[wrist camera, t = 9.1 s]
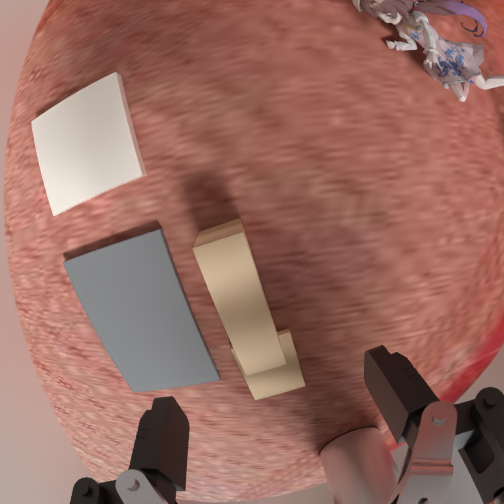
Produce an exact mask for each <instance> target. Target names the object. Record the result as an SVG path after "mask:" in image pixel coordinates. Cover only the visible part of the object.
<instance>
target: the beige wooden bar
mask: <svg viewBox="0 0 504 504" xmlns="http://www.w3.org/2000/svg"><path fill="white" fill-rule="evenodd" d="M192 249H193V252H194V254H195V257H196V259H197V262H198V265H199V267H200V270H201V272H202V275H203V277H204V280H205V282H206V285H207V287H208V290H209V292H210V294H211V297H212V299H213V302H214V304H215V307H216V309H217V311H218V314H219V316H220V318H221V321H222V323H223V325H224V328H225V330H226V332H227V335H228V337H229V339H230V341H231V344H232V345H231V351H232V353H233V355H234V357H235V359H236V361H237V364H238V366H239V368H240V370H241V372H242V374H243V376H244V378H245V380H246V383H247V385H248V387H249V389H250V391H251V393H252V395H253V397H254V399H255V400H258V399H262V398H266V397H270V396H273V395H277V394H281V393H284V392H287V391H291V390H294V389H297V388H300V387H304V386H305V383H304V379H303V376H302V372H301V368H300V365H299V361H298V358H297V354H296V351H295V347H294V344H293V340H292V337H291V334H290V330H289V328H287V329H284V330H281V331H278V332H277V330H276V327H275V324H274V321H273V318H272V315H271V312H270V308H269V305H268V302H267V299H266V296H265V293H264V290H263V287H262V284H261V280H260V277H259V274H258V271H257V268H256V265H255V262H254V259H253V256H252V252H251V249H250V246H249V243H248V240H247V237H246V234H245V231H244V228H243V224H242V221H241V218H239V219H236V220H233V221H230V222H227V223H224V224H221V225H218V226H215V227H212V228H209V229H206V230H203V231H200V232H199V233H198V236H197V238H196V241H195V243H194V246H193V248H192Z"/></svg>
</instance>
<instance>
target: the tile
mask: <svg viewBox="0 0 504 504" xmlns="http://www.w3.org/2000/svg"><path fill="white" fill-rule="evenodd" d="M31 123H32V129H33V136H34V141H35V147H36V152H37V156H38V161H39V165H40V170H41V174H42V178H43V182H44V185H45V189H46V193H47V196H48V200H49V203H50V206H51V209H52V213H53V216H55V215H58V214H60V213H62V212H64V211H66V210H68V209H70V208H72V207H74V206H77V205H79V204H81V203H83V202H85V201H87V200H89V199H91V198H93V197H96V196H98V195H100V194H102V193H105V192H107V191H109V190H111V189H114V188H116V187H118V186H121V185H123V184H126V183H128V182H130V181H133V180H135V179H138V178H140V177H143V176H146V175H147V173H146V170H145V166H144V163H143V160H142V156H141V153H140V149H139V146H138V142H137V139H136V135H135V131H134V127H133V124H132V120H131V116H130V112H129V108H128V104H127V99H126V95H125V91H124V86H123V82H122V77H121V75H120V74H118V73H117V72H114V73H112V74H110V75H108V76H106V77H104V78H102V79H100V80H98V81H96V82H94V83H92V84H90V85H89V86H87V87H85V88H83V89H81V90H80V91H78V92H76V93H74V94H73V95H71V96H69V97H68V98H66V99H64V100H63V101H61V102H60V103H58V104H57V105H55V106H53V107H52V108H50V109H49V110H47V111H46V112H45V113H43V114H42V115H40V116H39V117H37V118H36V119H35V120H33V121H32V122H31Z"/></svg>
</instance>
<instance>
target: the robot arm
mask: <svg viewBox="0 0 504 504" xmlns="http://www.w3.org/2000/svg"><path fill="white" fill-rule="evenodd" d="M364 379H365V383H366V386H367V388H368V390H369V392H370V394H371V396H372V397H373V399H374V401H375V403H376V405H377V407H378V408H379V410H380V412H381V414H382V416H383V418H384V420H385V421H386V423H387V425H388V427H389V429H390V431H391V433H392V435H393V436H394V438H395V440H396V442H397V444H400V443H402V442H404V441H406V442H407V444H408V446H409V447H408V450H407V453H406V457H405V460H404V463H403V467H402V470H401V472H400V470H399V468H398V466H397V464H396V462H395V460H394V458H393V456H392V454H391V452H390V450H389V448H388V446H387V444H386V442H385V440H384V438H383V436H382V434H381V432H380V430H379V429H377V428H373V427H368V428H362V429H357V430H354V431H351V432H349V433H346V434H344V435H342V436H340V437H338V438H336V439H335V440H333V441H331V442H330V443H329V444H327V445H326V446H325V447H324V448H323V449H322V451H321V453H320V458H321V462H322V465H323V468H324V471H325V475H326V478H327V482H328V485H329V488H330V492H331V495H332V498H333V501H334V504H445V502H446V499H447V495H448V491H449V487H450V484H451V479H452V475H453V465H451V457H452V452H453V451H455V450H458V451H459V453H460V455H461V457H462V459H463V461H464V463H465V465H466V467H467V469H468V471H469V473H470V475H471V477H472V479H473V481H474V483H475V485H476V487H477V489H478V492H479V494H480V496H481V498H482V501H483V503H484V504H504V395H503V393H502V392H501V391H500V390H499V389H497V388H493V387H488V388H484V389H482V390H481V391H480V392H479V393H478V394H477V396H476V398H475V399H474V400H471V401H467V402H463V403H460V404H453V405H452V404H451V403H449V402H446V401H440V400H439V399H438V398H437V397H436V395H435V394H434V393H433V391H432V390H431V388H430V387H429V386H428V385H427V383H426V382H425V381H424V379H423V378H422V377H421V375H420V374H418V371H417V370H416V369H415V368H414V367H413V365H412V364H411V362H410V361H409V360H408V359H407V357H405V356H403V355H401V354H399V353H398V352H395V353H393V354H390V353H389V352H388V350H387V349H386V348H385V347H384V346H383V345H380V346H378V347H375V348H373V349H370V350H367V351H365V362H364ZM189 429H190V428H189V422H188V419H187V417H186V415H185V414H184V412H183V411H182V409H181V408H180V406H179V405H178V403H177V402H176V400H175V399H174V397H172V396H170V397H160V398H155V399H154V401H153V405H152V409H151V410H146V412H145V413H144V415H143V416H142V418H141V419H140V422H139V426H138V431H137V435H136V439H135V443H134V448H133V452H132V457H131V461H130V466H129V469H128V470H126V471H124V472H122V473H121V474H120V475H119V476H118V478H117V480H114V481H108V482H103V483H97V482H96V481H95V480H93V479H91V478H87V477H86V478H81V479H79V480H78V481H77V482H76V483H75V485H74V488H73V492H72V496H71V501H70V504H181V503H180V502H179V501H178V500H177V499H176V491H185V488H186V471H187V455H188V442H189Z"/></svg>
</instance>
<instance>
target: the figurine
mask: <svg viewBox="0 0 504 504" xmlns="http://www.w3.org/2000/svg"><path fill="white" fill-rule="evenodd" d="M352 1H353V5H354V6H355V7H356V8H357V9H358V10H359V11H363V10H365V11H366V12H367V13H368V14H369V15H370V16H372V17H375V18H380V19H381V20H383V21H385V22H386V23H389V24H390V25H391V26H392V24H394V25H395V26H396V28H397V30H398V32H399V35H400V37H402V38H404V39H405V40H406V41H407V42H400V41H399V42H397V41H394V43H393V42H391V41H387V40H386V43H387V46H388V47H389V48H390V49H391V48H396V50H398V51H399V50H402V51H404V50H416V49H417V45H416V42H415V40H416V41H417V42H418V43H419V44H420V45H421V46H422V47H423V48H424V49H425V50H424V51H423V53H424V54H426V55H427V58H426V60H425V61H424V62H423V63H422V64H423V68H424V69H425V70H426V71H427V72H428V73H429V74H430V75H431V76H432V77H433V78H434V79H435V80H436V81H438V82H440V83H442V86H443V87H445V88H447V89H449V88H448V86H449V87H450V89H451V90H452V91H453V93H454V94H455V95H456V97H457V98H458V100H459V101H463V102H465V100H466V97H467V95H468V93H469V84H470V83H475V84H476V85H477V86H478V87H479V88H482V89H485V90H486V89H490V88H494V87H499V86H503V85H504V75H487V76H485V77H483V76H482V74H481V73H482V71H481V70H480V69H479V67H478V66H479V65H480V64H481V63H482V62H483V61H484V53H483V45H484V44H471V43H465V42H452V41H449V40H446V39H444V38H443V37H441V36H440V35H439V34H437V32H436V30H435V29H434V28H433V27H432V26H431V25H430V24H429V23H428V19H427V17H426V16H425V15H424V14H423V13H422V12H424V13H430V14H437V15H443V16H444V15H468V16H470V17H471V18H473V19H474V20H475V22H476V24H478V23H477V21H478V22H480V24H481V26H482V28H483V32H482V34H481V35H479V36H477V35H475V34H473V33H472V34H473V35H474V36H476V37H483V36H484V34H485V32H486V30H487V27H488V26H487V24H486V21H485V17H484V16H483V15H482V14H481V13H480V12H479V11H478V10H477V9H475V8H473V7H472V6H470V5H467V4H464V3H463V0H462V1H461V2H459V1H455V0H426V1H424V0H417V1H415V2H413V0H352ZM412 8H413V9H412ZM414 9H415V10H414ZM419 10H420V11H422V12H419ZM461 25H462V23H461ZM462 26H463V25H462ZM464 29H466V28H464ZM466 30H468V31H469V32H477V26H476V28H475V29H474V31H471V30H469V29H466ZM470 85H471V84H470Z"/></svg>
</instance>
